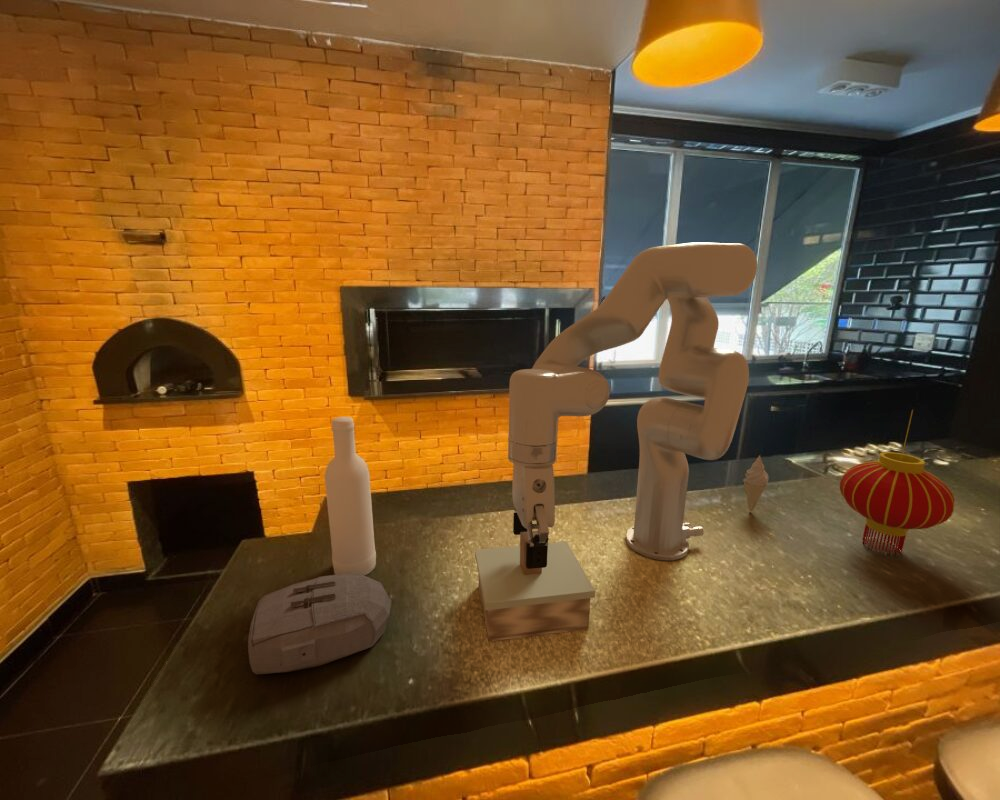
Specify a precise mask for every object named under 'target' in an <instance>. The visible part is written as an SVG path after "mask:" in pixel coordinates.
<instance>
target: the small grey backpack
mask: <svg viewBox="0 0 1000 800" xmlns="http://www.w3.org/2000/svg"><path fill="white" fill-rule="evenodd" d="M391 605H392V599H391V597H389V594H388V593H387V591H386V590H385V588H384V586H383V584H382V583H381V582H380V581H378V580H375V579H373V578H371V577H369V576H367V575H365V576H364V575H361V574H337V575H335V574H330V575H324V576H317V577H316V578H312V579H307V580H303V581H300V582H295V583H292V584H290V585H288V586H285V587H282V588H280V589H278V590H274V591H273V592H270V593H269V592H268V593H267V594H265V595H262V596H261V597H260V599H259V601H258V602H257V604H256V608H255V611H254V614H253V616H252V619H251V622H250V627H249V632H248V638H247V639H248V640H247V647H248V648H247V651H248V660H249V661H248V662H249V665H250V668H251V672H252V673H254V674H255V675H266V674H267V675H268V674H279V673H282V674H283V673H290V672H295V671H300V670H305V669H310V668H316V667H319V666H323V665H326V664H329V663H332V662H335V661H337V660H340V659H343V658H346V657H348V656H349V657H350V656H351V655H353V654H357V653H359V652H361V651H364V650H367V649H369V648H373V647H374V645H375V644H376V643H377V642H378V640H379V639H380V638H381V637H382V636H383V635H384V634H385V632H386V628H387V623H388V621H389V620H388V619H389V617H390V613H391V612H390V611H391V608H392V607H391Z"/></svg>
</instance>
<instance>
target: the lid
mask: <svg viewBox="0 0 1000 800" xmlns="http://www.w3.org/2000/svg"><path fill="white" fill-rule="evenodd" d="M537 532H538V530H532V533H533V537H534V536H535V535H536V534H538V533H537ZM519 537H520V538H519V540H520V541H519V545H511V546H501V547H500V546H499V547H490V548H478V549H474V557H475V561H476V562H475V563H476V567H477V572H478V574H479V578H478V580H479V579H480V584H481V590H482V595H483V600H484V606H485V610H494V609H502V608H511V607H519V606H528V605H536V604H545V603H553V602H562V601H570V600H579V599H588V598H590V599H595V598H596V589H595V588H594V586H593V585H592V583H591V581H590V579H589V578H588V575H587V573H586V572H585V571H584V569H583V567H582V565H581V564H580V562H579V561H578V559H577V557H576V554H575V553H574V551H573V550H572V548H571V546H570V545H569V543H568V541H567V540H564V541H555V542H552V541H551V542H548V553H547V566H546V567H544V568H533V569H527V567H526V543H529V541H528V533H527V532H520V535H519Z"/></svg>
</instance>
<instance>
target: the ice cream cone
mask: <svg viewBox="0 0 1000 800" xmlns="http://www.w3.org/2000/svg"><path fill="white" fill-rule="evenodd" d="M744 476H745V478H743V479H742V480H743V483H744V484H743V485H744V488H745V489H744V490H745V495H746V501H747V506H748V511H749V510H750V511H752V512H754V510H755V507H756V506H757V505H758V502H759V500H760V498H761V496H762V495H763V493H764V490H765V489H766V487H767V486H768V482H769V474H768V472H766V471H765V465H764V464H763V460H762V458H761V454H759V455H758V457H757V458H756V459H755V461H754V462H753V463H752V465H751V468H749V469H748V470H746V473H745V475H744Z"/></svg>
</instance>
